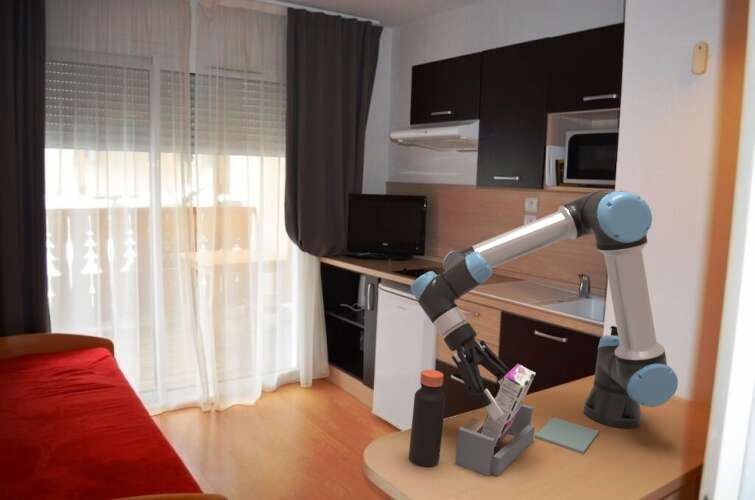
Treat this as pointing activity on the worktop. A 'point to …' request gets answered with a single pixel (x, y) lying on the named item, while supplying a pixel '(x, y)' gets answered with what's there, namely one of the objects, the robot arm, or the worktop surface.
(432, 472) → the worktop surface
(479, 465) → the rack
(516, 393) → the candy bar box
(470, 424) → the offcut stack
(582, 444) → the mat
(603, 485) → the worktop surface
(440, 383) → the bottle
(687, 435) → the worktop surface
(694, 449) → the worktop surface
